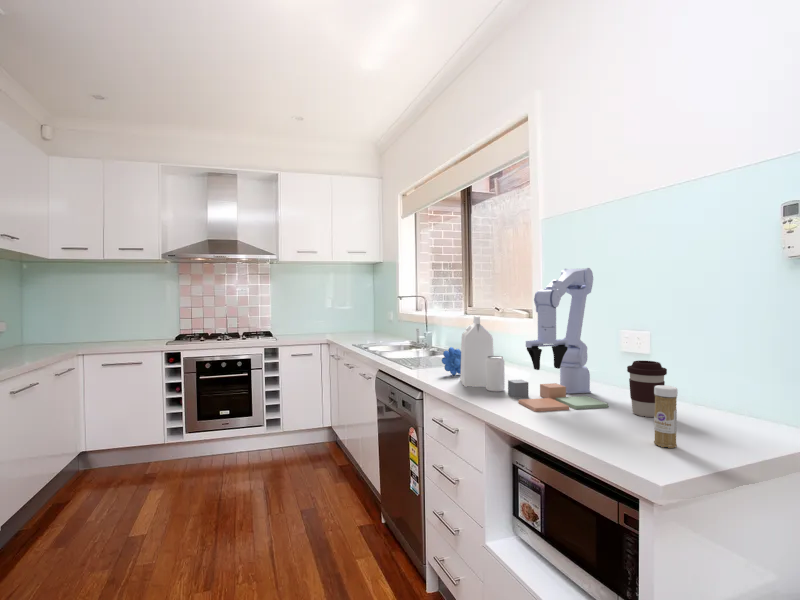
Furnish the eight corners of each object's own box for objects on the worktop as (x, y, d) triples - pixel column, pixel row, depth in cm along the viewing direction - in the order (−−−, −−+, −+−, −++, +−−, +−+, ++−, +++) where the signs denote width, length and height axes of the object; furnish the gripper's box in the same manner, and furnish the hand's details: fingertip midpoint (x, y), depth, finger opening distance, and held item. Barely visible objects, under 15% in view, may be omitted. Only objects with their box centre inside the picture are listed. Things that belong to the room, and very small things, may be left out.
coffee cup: (670, 414, 130) (670, 361, 130) (661, 421, 123) (661, 365, 122) (633, 408, 137) (633, 358, 136) (622, 414, 129) (622, 362, 129)
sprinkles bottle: (652, 446, 103) (652, 387, 103) (656, 440, 106) (656, 383, 106) (675, 450, 100) (675, 389, 100) (678, 445, 104) (679, 386, 103)
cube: (521, 394, 157) (521, 379, 157) (528, 397, 152) (528, 382, 152) (508, 394, 156) (508, 380, 156) (514, 397, 151) (514, 383, 151)
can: (504, 392, 160) (504, 358, 159) (486, 391, 161) (485, 357, 161) (504, 388, 166) (504, 355, 166) (486, 387, 167) (486, 355, 167)
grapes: (446, 377, 187) (446, 348, 187) (439, 375, 194) (439, 347, 193) (471, 375, 192) (471, 347, 192) (462, 373, 198) (462, 345, 198)
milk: (495, 386, 170) (494, 317, 169) (464, 386, 170) (463, 317, 169) (489, 380, 182) (488, 315, 181) (460, 380, 182) (460, 315, 181)
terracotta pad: (550, 401, 146) (550, 397, 146) (569, 409, 135) (569, 406, 135) (518, 402, 144) (518, 399, 144) (535, 411, 133) (535, 408, 133)
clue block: (556, 394, 155) (556, 383, 155) (565, 398, 149) (565, 386, 149) (540, 395, 154) (539, 384, 154) (549, 399, 148) (549, 387, 148)
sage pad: (586, 398, 149) (586, 395, 149) (608, 407, 138) (608, 403, 138) (555, 400, 147) (555, 397, 147) (575, 409, 136) (575, 405, 136)
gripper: (558, 325, 152) (558, 365, 152) (520, 326, 148) (520, 368, 148) (572, 326, 145) (572, 369, 146) (532, 328, 141) (532, 371, 141)
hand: (547, 368), depth 146 cm, fingers open, 7 cm apart
